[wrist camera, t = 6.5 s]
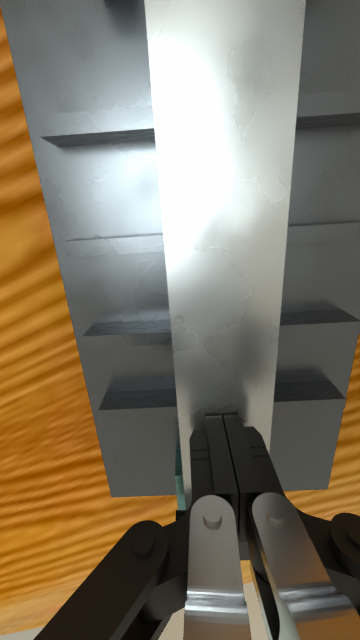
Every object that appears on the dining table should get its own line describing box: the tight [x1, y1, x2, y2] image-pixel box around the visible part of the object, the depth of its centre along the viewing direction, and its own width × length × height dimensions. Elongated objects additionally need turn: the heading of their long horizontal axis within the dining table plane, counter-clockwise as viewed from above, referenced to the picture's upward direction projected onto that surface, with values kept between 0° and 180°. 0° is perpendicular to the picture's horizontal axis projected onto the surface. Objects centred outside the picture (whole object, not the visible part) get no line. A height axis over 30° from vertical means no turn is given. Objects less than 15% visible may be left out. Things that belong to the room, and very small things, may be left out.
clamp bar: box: [144, 0, 306, 560], centre depth 10 cm, size 5×25×2 cm, turn 4°
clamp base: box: [0, 0, 360, 510], centre depth 11 cm, size 14×28×6 cm, turn 4°
